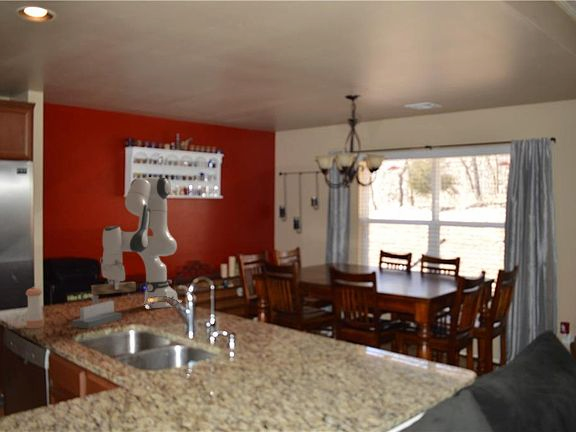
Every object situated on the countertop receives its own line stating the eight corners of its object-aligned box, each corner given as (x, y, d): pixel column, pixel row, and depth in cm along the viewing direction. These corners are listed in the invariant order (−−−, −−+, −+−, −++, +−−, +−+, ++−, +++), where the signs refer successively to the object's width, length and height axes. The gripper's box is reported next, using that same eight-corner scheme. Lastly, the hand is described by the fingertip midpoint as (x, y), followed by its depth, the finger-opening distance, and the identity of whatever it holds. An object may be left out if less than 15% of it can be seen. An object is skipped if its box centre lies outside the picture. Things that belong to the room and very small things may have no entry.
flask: (93, 317, 282) (93, 297, 282) (85, 315, 286) (84, 296, 286) (106, 314, 288) (105, 295, 287) (97, 313, 292) (97, 294, 292)
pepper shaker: (46, 324, 267) (44, 285, 266) (38, 328, 260) (36, 288, 259) (32, 324, 268) (30, 285, 267) (23, 328, 261) (21, 288, 260)
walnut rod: (134, 289, 272) (134, 281, 272) (135, 290, 269) (135, 282, 268) (91, 293, 264) (91, 285, 263) (92, 294, 260) (92, 286, 260)
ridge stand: (106, 317, 281) (105, 299, 281) (121, 318, 277) (121, 300, 277) (72, 327, 262) (72, 308, 261) (88, 328, 257) (88, 309, 257)
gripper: (128, 261, 259) (129, 290, 260) (111, 257, 275) (112, 285, 276) (114, 262, 255) (116, 292, 256) (98, 258, 271) (99, 286, 272)
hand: (113, 288), depth 266 cm, fingers closed on walnut rod, 5 cm apart
